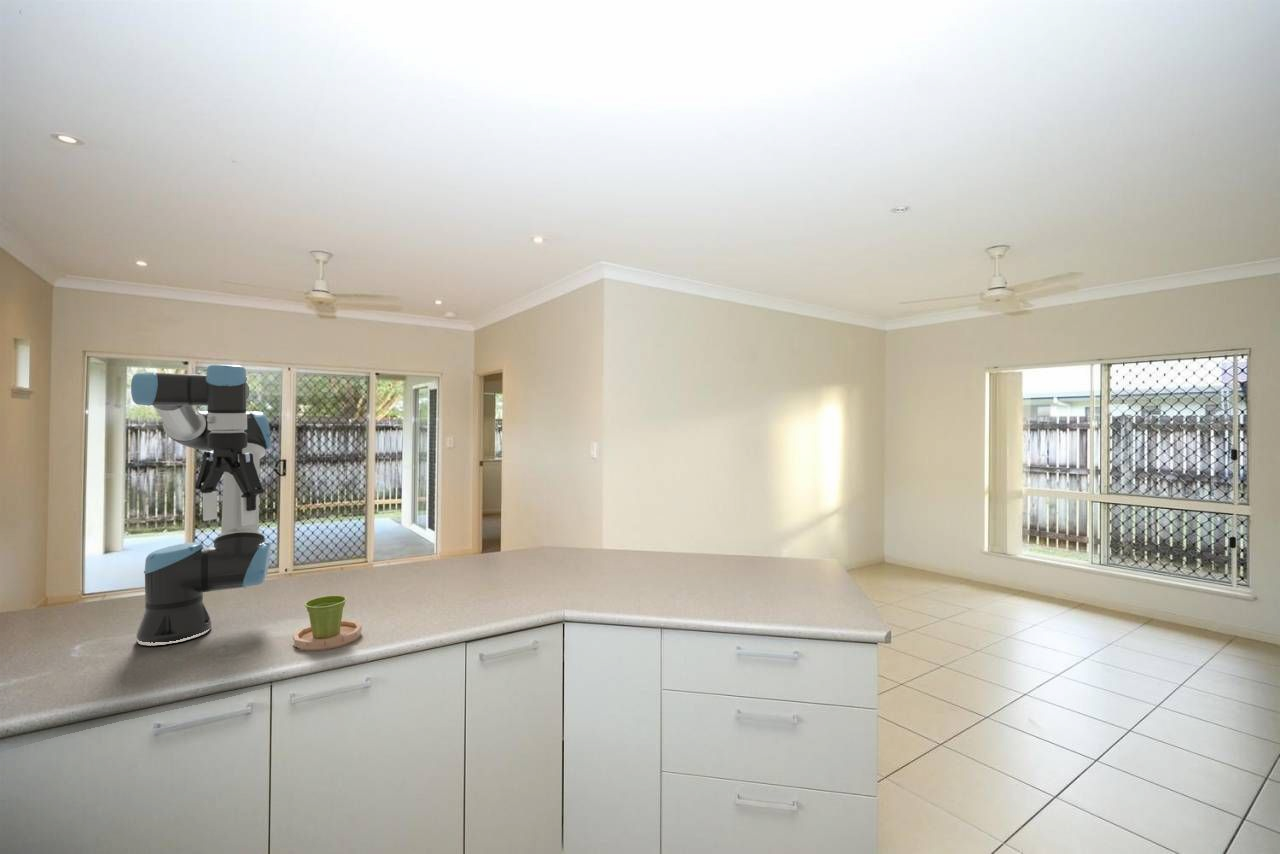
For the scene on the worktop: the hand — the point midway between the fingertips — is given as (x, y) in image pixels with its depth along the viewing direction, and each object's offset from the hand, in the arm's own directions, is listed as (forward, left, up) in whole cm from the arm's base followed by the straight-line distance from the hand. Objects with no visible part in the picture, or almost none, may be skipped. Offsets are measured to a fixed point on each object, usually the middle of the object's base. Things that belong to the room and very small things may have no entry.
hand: (229, 522), depth 134 cm
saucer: (+11, +17, -32) cm, 38 cm away
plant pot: (+10, +17, -31) cm, 37 cm away
